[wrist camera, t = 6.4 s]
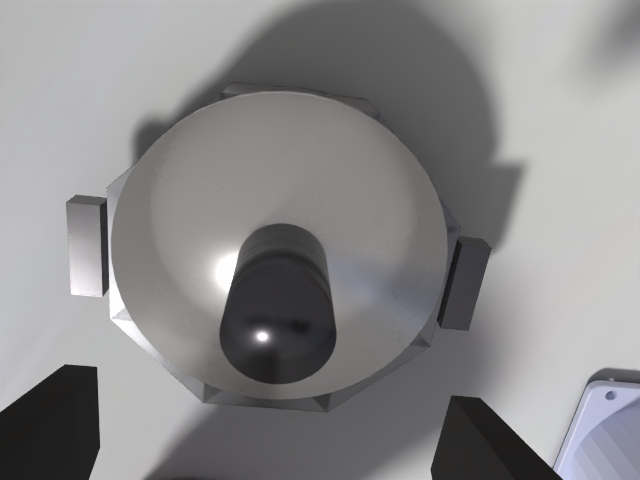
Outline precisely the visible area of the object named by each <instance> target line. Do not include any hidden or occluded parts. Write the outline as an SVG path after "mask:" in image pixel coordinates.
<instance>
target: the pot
mask: <svg viewBox="0 0 640 480" xmlns="http://www.w3.org/2000/svg"><path fill="white" fill-rule="evenodd" d="M260 91H295V92H304V93H312V94H316V95H319V96H323V97H327V98H331V99H335V100H337V101H340V102H342V103H344V104H347V105H349V106H352V107H354V108H356V109H358V110H360V111H362V112H363V113H365V114H367V115H368V116H370V117H372V118H374V119H375V120H377V121H378V122H379V123H381V124H382V125H383V126H384V127H386V128H387V129H388V130H389V131H391V132H392V133H393V131H392V130H391V129H390V127H389V126H388V124H387V123H386V122H385V120H384V119H383V117H382V116H381V114H380V112H379V111H378V110H377V109H376V108H375V107H374V106H372V105H371V104H370V103H369V102H368V101H367V100H366V99H357V98H350V97H342V96H335V95H328V94H326V93H323V92H318V91H313V90H309V89H304V88H294V87H267V86H259V85H252V84H244V83H237V82H232V83H231V84H230V85H228V86H227V87H226V88H225V89H224V90H222V91H221V93H220V94H218V95H217V96H216V97H215V98H214V99H212V100H211V101H210V102H209V103H208V104H206V105H205V106H204V107H206V106H208V105H210V104H212V103H215V102H217V101H220V100H223V99H227V98H230V97H233V96H237V95H240V94H247V93H253V92H260ZM204 107H202V108H204ZM200 109H201V108H200ZM198 110H199V109H198ZM393 134H394V133H393ZM394 135H395V134H394ZM136 164H137V163H135V164H134V165H133V166H132V167H131V168H129V169H128V170H127V171H126V172H125V173H123V174H122V175H121V176H120V177H119V178H118V179H116V180H115V181H114V182H113V183H112V184H110V185H109V186H108V187H107V188H106V189H107V198H101V197H92V196H83V195H75V196H74V197H73V198H71V199H70V200H69V201H67V202H66V210H67V228H68V245H69V263H70V280H71V294H74V295H85V296H96V297H103V296H104V294H105V293H106V292H107V290H108V289H109V291H110V319H111V320H112V321H113V322H114V323H116V324H117V325H118V326H119V327H120V328H121V329H122V330H123V331H124V332H125V333H127V334H128V335H129V336H130V337H131V338H132V339H133V340H134V341H135V342H136V343H138V344H139V345H140V346H141V347H142V348H143V349H144V350H145V351H146V352H148V353H149V354H150V355H151V356H152V357H153V358H154V359H155V360H156V361H157V362H159V363H160V364H161V365H162V366H163V367H164V368H165V369H166V370H167V371H168V372H170V373H171V374H172V375H173V376H174V377H175V378H176V379H177V380H178V381H180V382H181V383H182V384H183V385H184V386H185V387H186V388H187V389H188V390H189V391H191V392H192V393H193V394H194V395H195V396H196V397H197V398H198V399H199V400H201V401H202V402H203V403H210V404H223V405H236V406H250V407H263V408H277V409H290V410H304V411H317V412H329V411H330V410H332V409H333V408H335V407H336V406H338V405H340V404H341V403H343V402H344V401H346V400H347V399H349V398H350V397H352V396H354V395H355V394H357V393H358V392H360V391H361V390H363V389H365V388H366V387H368V386H369V385H371V384H372V383H374V382H376V381H377V380H379V379H380V378H382V377H383V376H385V375H387V374H388V373H390V372H391V371H393V370H394V369H396V368H398V367H399V366H401V365H402V364H404V363H405V362H407V361H408V360H410V359H412V358H413V357H415V356H416V355H418V354H419V353H421V352H423V351H424V350H426V349H427V348H429V347H430V345H431V341H432V337H433V333H434V329H435V325H436V321H438V323H439V325H440V327H441V328H445V329H456V330H467V331H468V329H469V326H470V322H471V319H472V315H473V312H474V308H475V305H476V301H477V298H478V294H479V290H480V287H481V283H482V280H483V276H484V273H485V269H486V266H487V262H488V259H489V255H490V251H491V247H490V246H489V245H488V244H487V243H486V242H485V241H484V240H483V239H477V238H468V237H459V236H458V234H459V230H460V226H459V225H458V223H457V222H456V221H455V219H454V218H453V217H452V215H451V214H450V212H449V211H448V209H447V208H446V207H445V205H444V204H443V202H442V201H441V200H440V198H439V197H438V198H439V201H440V204H441V207H442V210H443V214H444V219H445V224H446V229H447V246H448V253H447V264H446V272H445V276H444V280H443V285H442V289H441V292H440V294H439V297H438V299H437V302H436V304H435V307H434V309H433V311H432V313H431V314H430V316H429V318H428V320H427V322H426V323H425V325H424V326H423V328H422V329H421V330H420V332H419V333H418V335H417V336H416V337H415V339H414V340H413V341H412V342H411V343H410V344H409V345H408V346H407V347H406V348H405V349H404V351H403V352H402V353H401V354H399V355H398V356H397V357H396V358H395V359H393V360H392V361H391V362H390V363H389V364H387V365H386V366H385V367H383V368H382V369H380V370H379V371H377V372H376V373H374V374H373V375H371V376H369V377H367V378H365V379H363V380H361V381H359V382H357V383H355V384H353V385H351V386H348V387H345V388H343V389H340V390H337V391H334V392H330V393H326V394H323V395H319V396H313V397H306V398H299V399H263V398H254V397H249V396H243V395H238V394H235V393H231V392H228V391H224V390H221V389H218V388H216V387H213V386H211V385H208V384H206V383H204V382H201V381H200V380H198V379H196V378H194V377H192V376H190V375H189V374H187V373H185V372H183V371H182V370H181V369H179V368H178V367H176V366H175V365H174V364H172V363H171V362H169V361H168V360H167V359H166V358H165V357H164V356H163V355H161V354H160V353H159V352H158V351H157V350H156V349H155V348H154V347H153V346H152V345H151V344H150V343H149V341H148V340H147V339H146V338H145V337H144V336H143V335H142V333H141V332H140V330H139V329H138V328H137V326H136V325H135V323H134V322H133V320H132V319H131V317H130V315H129V313H128V311H127V309H126V307H125V305H124V303H123V301H122V299H121V296H120V293H119V290H118V287H117V284H116V281H115V276H114V271H113V265H112V260H111V233H112V224H113V217H114V214H115V210H116V206H117V203H118V199H119V196H120V194H121V192H122V190H123V187H124V185H125V183H126V180H127V178H128V177H129V175H130V173H131V172H132V170H133V169H134V167H135V166H136Z"/></svg>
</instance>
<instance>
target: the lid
mask: <svg viewBox="0 0 640 480" xmlns="http://www.w3.org/2000/svg"><path fill="white" fill-rule="evenodd" d="M447 253H448V246H447V229H446V224H445V219H444V214H443V210H442V207H441V204H440V201H439V198H438V195H437V192H436V190H435V188H434V186H433V184H432V182H431V181H430V179H429V177H428V175H427V173H426V171H425V170H424V168H423V167H422V166H421V164H420V163H419V161H418V160H417V159H416V157H415V156H414V155H413V153H412V152H411V151H410V150H409V149H408V148H407V147H406V146H405V145H404V144H403V143H402V142H401V141H400V140H399V139H398V138H397V137H396V136H395V135H394V134H393V133H392V132H391V131H389V130H388V129H387V128H386V127H384V126H383V125H382V124H381V123H379V122H378V121H377V120H375V119H374V118H372V117H370V116H368V115H367V114H365V113H363V112H362V111H360V110H358V109H356V108H354V107H352V106H349V105H347V104H344V103H342V102H340V101H337V100H335V99H331V98H327V97H323V96H319V95H316V94H312V93H304V92H295V91H260V92H253V93H247V94H240V95H237V96H233V97H230V98H227V99H223V100H220V101H217V102H215V103H212V104H210V105H208V106H206V107H204V108H201V109H199V110H197V111H195V112H194V113H192V114H190V115H189V116H187V117H186V118H184V119H183V120H181V121H179V122H178V123H176V124H175V125H174V126H173V127H171V128H170V129H169V130H168V131H167V132H166V133H164V134H163V135H162V136H161V137H160V138H159V139H157V140H156V141H155V142H154V143H153V144H152V145H151V147H150V148H149V149H148V150H147V151H146V152H145V154H144V155H143V156H142V157H141V158H140V159H139V161H138V162H137V164H136V166H135V167H134V169H133V170H132V172H131V173H130V175H129V177H128V178H127V180H126V183H125V185H124V187H123V190H122V192H121V194H120V196H119V199H118V203H117V206H116V210H115V214H114V217H113V224H112V233H111V260H112V265H113V271H114V276H115V281H116V284H117V287H118V290H119V293H120V296H121V299H122V301H123V303H124V305H125V307H126V309H127V311H128V313H129V315H130V317H131V319H132V320H133V322H134V323H135V325H136V326H137V328H138V329H139V330H140V332H141V333H142V335H143V336H144V337H145V338H146V339H147V340H148V341H149V343H150V344H151V345H152V346H153V347H154V348H155V349H156V350H157V351H158V352H159V353H160V354H161V355H163V356H164V357H165V358H166V359H167V360H168V361H169V362H171V363H172V364H174V365H175V366H176V367H178V368H179V369H181V370H182V371H183V372H185V373H187V374H189V375H190V376H192V377H194V378H196V379H198V380H200V381H201V382H204V383H206V384H208V385H211V386H213V387H216V388H218V389H221V390H224V391H228V392H231V393H235V394H238V395H243V396H249V397H254V398H263V399H299V398H306V397H313V396H319V395H323V394H326V393H330V392H334V391H337V390H340V389H343V388H345V387H348V386H351V385H353V384H355V383H357V382H359V381H361V380H363V379H365V378H367V377H369V376H371V375H373V374H374V373H376V372H377V371H379V370H380V369H382V368H383V367H385V366H386V365H387V364H389V363H390V362H391V361H392V360H393V359H395V358H396V357H397V356H398V355H399V354H401V353H402V352H403V351H404V349H405V348H406V347H407V346H408V345H409V344H410V343H411V342H412V341H413V340H414V339H415V337H416V336H417V335H418V333H419V332H420V330H421V329H422V328H423V326H424V325H425V323H426V322H427V320H428V318H429V316H430V314H431V313H432V311H433V309H434V307H435V304H436V302H437V299H438V297H439V294H440V292H441V289H442V285H443V280H444V276H445V272H446V264H447Z"/></svg>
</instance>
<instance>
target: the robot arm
mask: <svg viewBox="0 0 640 480" xmlns="http://www.w3.org/2000/svg"><path fill="white" fill-rule="evenodd" d="M609 391H611V392H610V393H608V392H609ZM607 393H608V394H607ZM99 449H100V432H99V406H98V379H97V367H91V366H78V365H66V364H65V365H64V366H62V367H61V368H59V369H58V370H57V371H55V372H54V373H52V374H51V375H50V376H48V377H47V378H46V379H44V380H43V381H42V382H40V383H39V384H38V385H36V386H35V387H34V388H32V389H31V390H30V391H28V392H27V393H25V394H24V395H23V396H21V397H20V398H19V399H17V400H16V401H15V402H13V403H12V404H11V405H9V406H8V407H7V408H5V409H4V410H3V411H1V412H0V480H89V477H90V475H91V472H92V469H93V466H94V463H95V460H96V458H97V455H98V452H99ZM431 474H432V480H640V384H638V383H626V382H614V381H602V380H598V381H593V382H591V383H590V384H589V385H588V386H587V387H586V389H585V391H584V394H583V396H582V399H581V401H580V404H579V406H578V409H577V411H576V414H575V416H574V419H573V421H572V424H571V426H570V429H569V431H568V433H567V436H566V438H565V441H564V443H563V446H562V448H561V451H560V453H559V456H558V458H557V461H556V463H555V466H554V468H553V469H552V468H551V467H550V466H549V465H548V464H547V463H546V462H545V461H544V460H543V459H541V458H540V457H539V456H538V455H537V454H536V453H535V452H534V451H533V450H532V449H531V448H530V447H529V446H528V445H527V444H526V443H525V442H524V441H523V440H522V439H521V438H520V437H519V436H518V435H517V434H516V433H515V432H514V431H513V430H512V429H511V428H510V427H509V426H508V425H507V424H506V423H505V422H504V421H503V420H502V419H501V418H500V417H499V416H498V415H497V414H496V413H495V412H494V411H493V410H492V409H491V408H490V407H489V406H488V405H487V404H486V403H485V402H484V401H483V400H482V399H480V398H475V397H463V396H451V399H450V403H449V406H448V410H447V413H446V417H445V421H444V424H443V428H442V431H441V435H440V438H439V442H438V445H437V449H436V452H435V456H434V459H433V463H432V466H431Z"/></svg>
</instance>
